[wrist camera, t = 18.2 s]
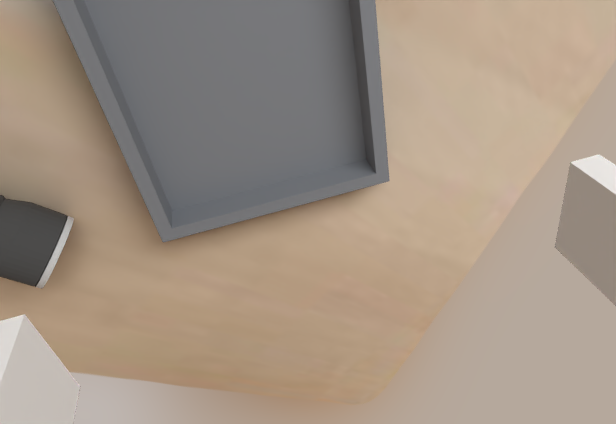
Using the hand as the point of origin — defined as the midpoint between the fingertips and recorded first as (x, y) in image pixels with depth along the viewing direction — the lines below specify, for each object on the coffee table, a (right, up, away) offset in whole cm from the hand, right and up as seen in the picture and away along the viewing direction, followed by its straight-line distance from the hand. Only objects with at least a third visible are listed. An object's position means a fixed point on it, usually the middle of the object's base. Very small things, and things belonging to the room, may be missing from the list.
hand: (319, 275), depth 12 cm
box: (-5, +14, +20) cm, 25 cm away
